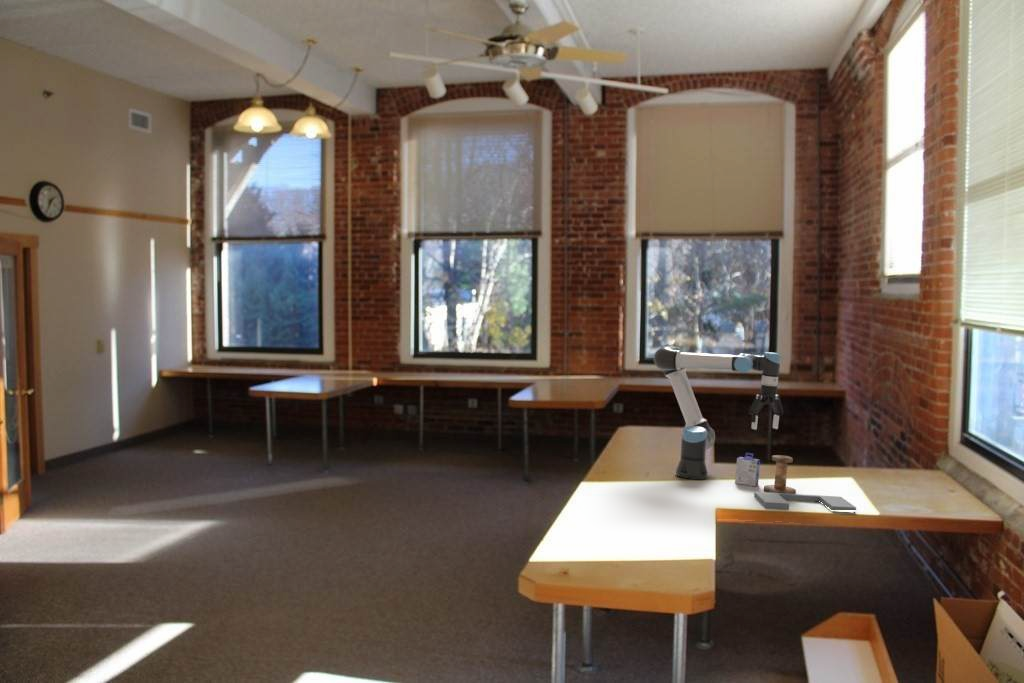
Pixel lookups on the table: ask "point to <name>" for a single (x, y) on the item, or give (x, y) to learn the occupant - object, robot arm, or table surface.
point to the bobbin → (780, 476)
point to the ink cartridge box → (747, 470)
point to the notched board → (780, 500)
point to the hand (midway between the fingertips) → (764, 428)
